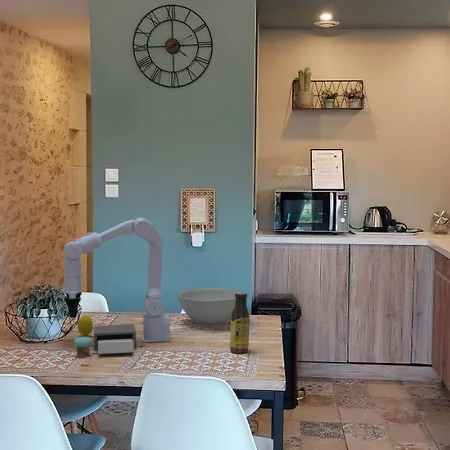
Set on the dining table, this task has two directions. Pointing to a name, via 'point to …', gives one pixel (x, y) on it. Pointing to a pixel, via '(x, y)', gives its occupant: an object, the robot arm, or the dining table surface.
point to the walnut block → (83, 351)
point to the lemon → (85, 325)
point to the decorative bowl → (208, 305)
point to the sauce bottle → (240, 325)
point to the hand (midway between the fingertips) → (73, 315)
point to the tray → (115, 346)
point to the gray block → (114, 333)
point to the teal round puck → (83, 341)
